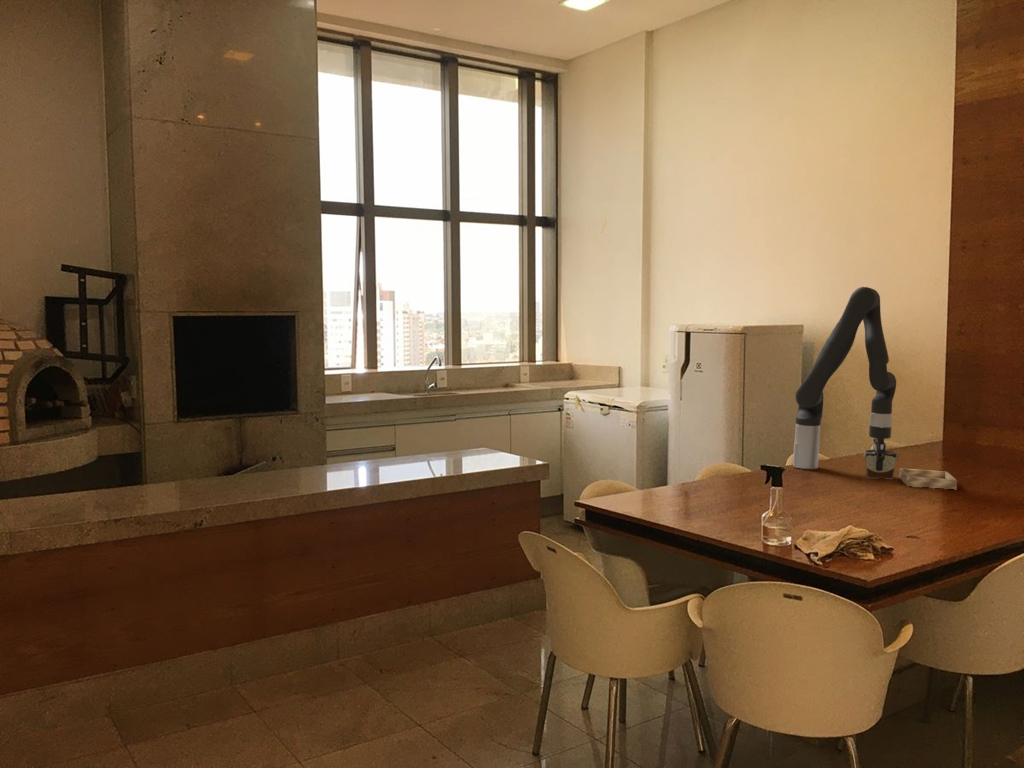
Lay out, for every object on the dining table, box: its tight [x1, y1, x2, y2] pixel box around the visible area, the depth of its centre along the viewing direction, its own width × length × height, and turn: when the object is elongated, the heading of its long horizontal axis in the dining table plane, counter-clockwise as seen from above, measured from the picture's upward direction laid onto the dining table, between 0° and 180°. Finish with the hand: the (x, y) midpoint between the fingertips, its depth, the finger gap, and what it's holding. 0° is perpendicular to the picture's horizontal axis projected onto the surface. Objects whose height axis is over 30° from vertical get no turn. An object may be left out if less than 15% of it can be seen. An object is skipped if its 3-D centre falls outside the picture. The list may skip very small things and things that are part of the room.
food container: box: [863, 449, 899, 480], centre depth 305 cm, size 12×6×10 cm, turn 84°
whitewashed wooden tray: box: [899, 467, 958, 491], centre depth 295 cm, size 16×16×4 cm
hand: (877, 468), depth 305 cm, fingers open, 6 cm apart
